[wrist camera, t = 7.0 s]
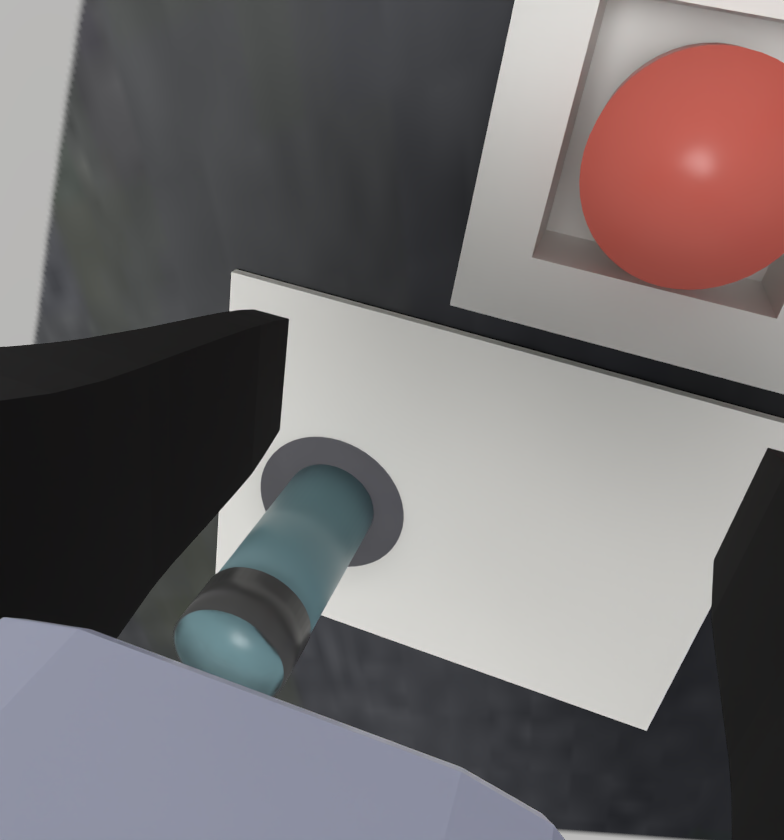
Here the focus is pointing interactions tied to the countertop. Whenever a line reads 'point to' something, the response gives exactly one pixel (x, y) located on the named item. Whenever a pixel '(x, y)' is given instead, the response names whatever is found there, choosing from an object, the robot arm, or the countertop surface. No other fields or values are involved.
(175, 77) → the countertop surface
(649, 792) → the countertop surface
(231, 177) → the countertop surface
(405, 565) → the paper
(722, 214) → the button
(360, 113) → the countertop surface
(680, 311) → the button housing
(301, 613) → the teal cylinder
